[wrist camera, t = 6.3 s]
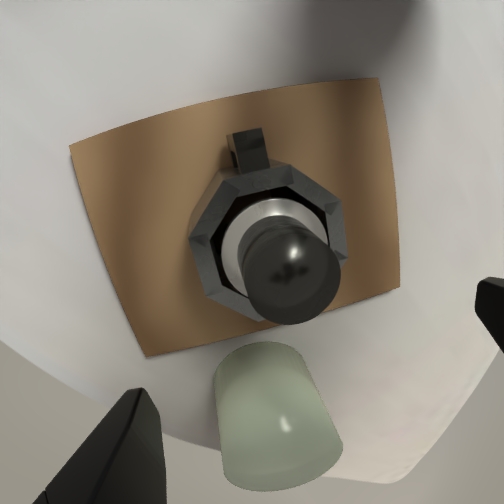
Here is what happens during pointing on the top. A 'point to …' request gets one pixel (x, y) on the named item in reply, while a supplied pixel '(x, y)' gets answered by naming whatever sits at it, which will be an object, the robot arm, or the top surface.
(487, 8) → the top surface
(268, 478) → the sage mug
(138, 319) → the walnut board
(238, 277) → the plunger
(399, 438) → the top surface
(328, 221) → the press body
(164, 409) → the top surface
